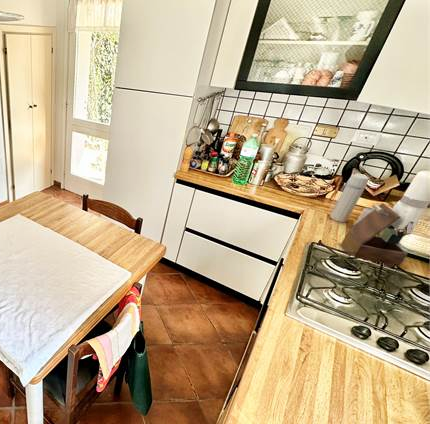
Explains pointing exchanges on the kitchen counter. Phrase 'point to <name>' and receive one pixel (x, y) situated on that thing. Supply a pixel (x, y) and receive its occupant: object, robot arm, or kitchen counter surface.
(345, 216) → the water bottle
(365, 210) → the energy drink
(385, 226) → the box lid
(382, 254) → the keepsake box
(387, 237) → the block
